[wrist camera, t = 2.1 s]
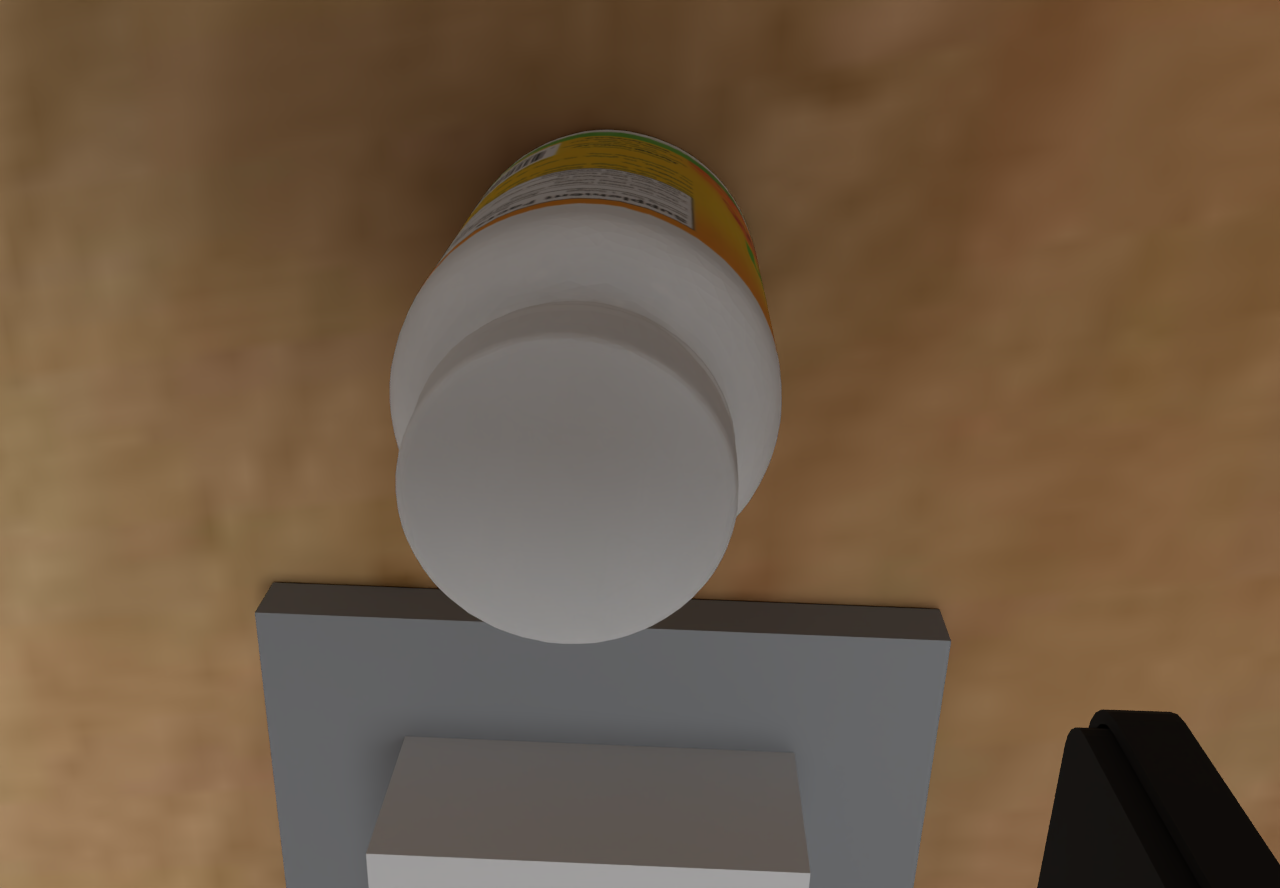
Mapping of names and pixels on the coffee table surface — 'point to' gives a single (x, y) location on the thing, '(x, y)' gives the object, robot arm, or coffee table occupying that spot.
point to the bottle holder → (598, 745)
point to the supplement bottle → (585, 391)
